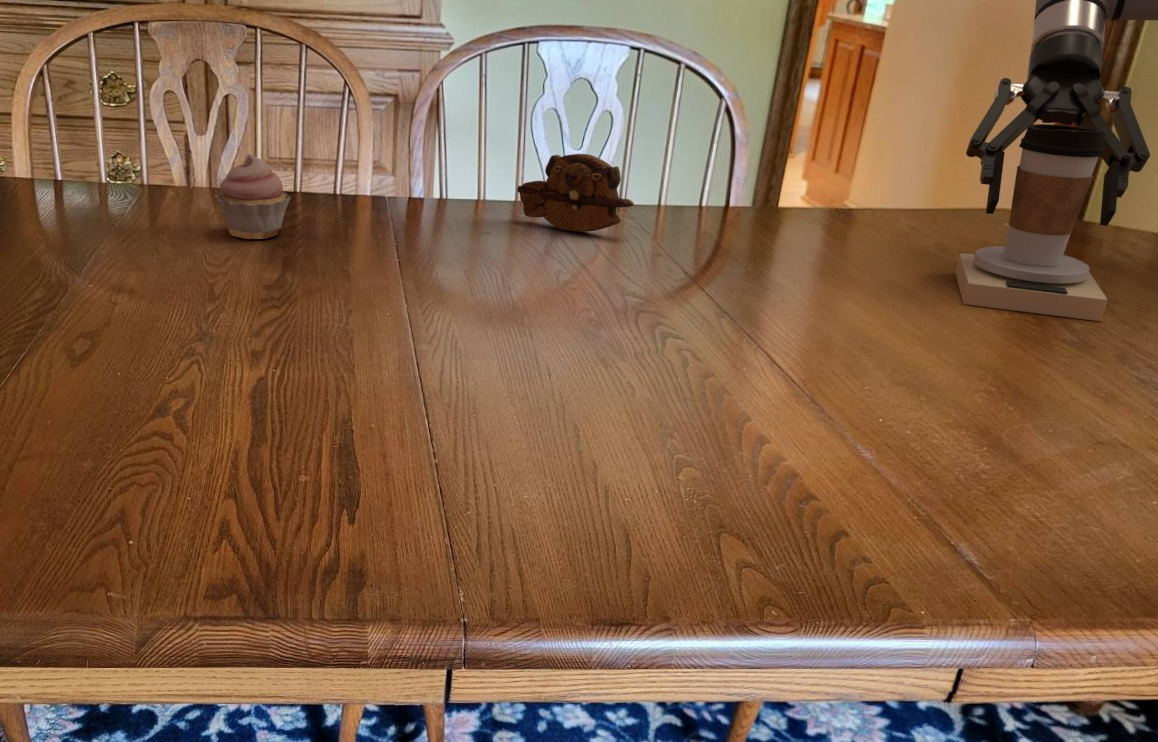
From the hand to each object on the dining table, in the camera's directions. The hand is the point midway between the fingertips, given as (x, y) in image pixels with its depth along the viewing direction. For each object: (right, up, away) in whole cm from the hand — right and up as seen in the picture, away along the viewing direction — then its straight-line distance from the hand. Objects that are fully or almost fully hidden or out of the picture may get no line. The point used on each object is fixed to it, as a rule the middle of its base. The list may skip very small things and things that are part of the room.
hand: (1049, 212), depth 122 cm
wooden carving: (-50, +3, +25) cm, 56 cm away
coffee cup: (+1, -4, +5) cm, 7 cm away
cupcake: (-91, +1, +17) cm, 93 cm away
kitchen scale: (0, -8, +6) cm, 10 cm away
